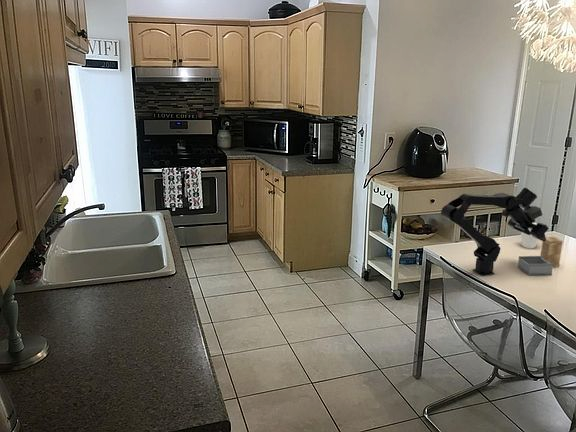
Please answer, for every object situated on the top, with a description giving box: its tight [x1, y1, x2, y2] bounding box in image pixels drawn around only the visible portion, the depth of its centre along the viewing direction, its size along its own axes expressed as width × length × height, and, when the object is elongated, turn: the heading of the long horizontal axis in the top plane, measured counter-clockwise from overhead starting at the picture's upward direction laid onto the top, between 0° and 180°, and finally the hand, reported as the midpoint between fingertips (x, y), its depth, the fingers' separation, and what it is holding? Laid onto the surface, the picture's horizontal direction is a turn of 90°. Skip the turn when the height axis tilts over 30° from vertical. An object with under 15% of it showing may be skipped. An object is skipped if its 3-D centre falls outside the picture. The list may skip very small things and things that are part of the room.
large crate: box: [517, 255, 554, 277], centre depth 207 cm, size 10×10×5 cm
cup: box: [520, 222, 539, 249], centre depth 237 cm, size 10×10×11 cm
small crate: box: [540, 236, 564, 268], centre depth 213 cm, size 6×6×12 cm
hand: (537, 237), depth 209 cm, fingers open, 9 cm apart
